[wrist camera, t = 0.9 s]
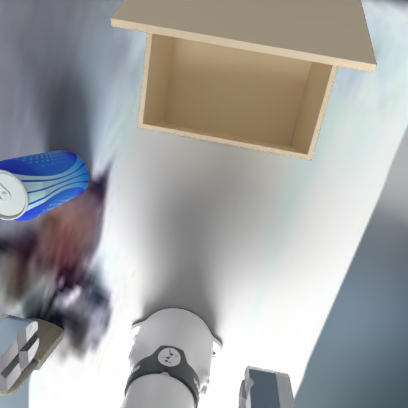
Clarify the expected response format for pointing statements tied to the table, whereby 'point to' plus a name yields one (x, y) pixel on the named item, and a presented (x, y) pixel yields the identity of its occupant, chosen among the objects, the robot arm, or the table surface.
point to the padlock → (39, 351)
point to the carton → (234, 96)
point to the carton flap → (261, 26)
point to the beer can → (40, 183)
